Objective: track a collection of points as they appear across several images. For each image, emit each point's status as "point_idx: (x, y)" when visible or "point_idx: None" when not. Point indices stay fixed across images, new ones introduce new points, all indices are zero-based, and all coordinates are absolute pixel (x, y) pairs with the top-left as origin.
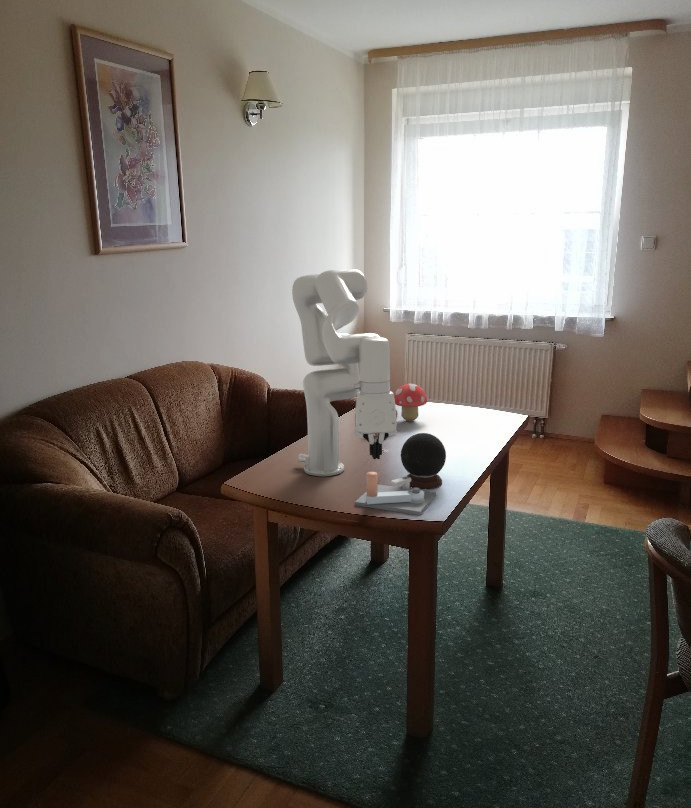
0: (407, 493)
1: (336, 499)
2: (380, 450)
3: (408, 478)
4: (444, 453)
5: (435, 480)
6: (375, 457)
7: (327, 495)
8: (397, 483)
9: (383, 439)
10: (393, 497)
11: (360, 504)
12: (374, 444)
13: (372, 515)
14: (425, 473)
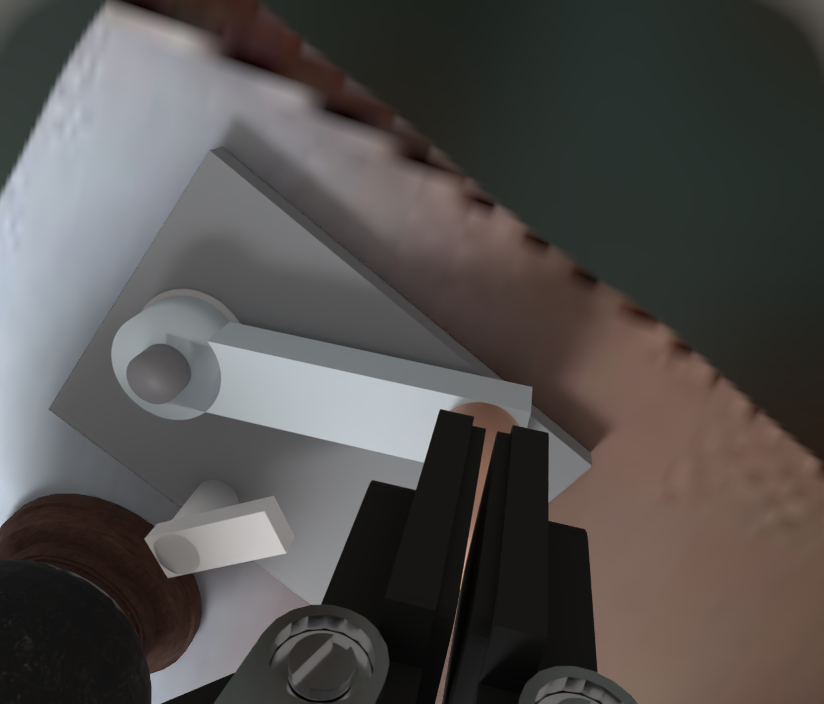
0: (227, 369)
1: (668, 572)
2: (385, 528)
3: (163, 540)
4: None
5: (19, 541)
6: (517, 435)
7: (697, 642)
8: (255, 508)
9: (233, 690)
10: (338, 363)
11: (561, 432)
12: (520, 636)
13: (541, 257)
14: (40, 569)
